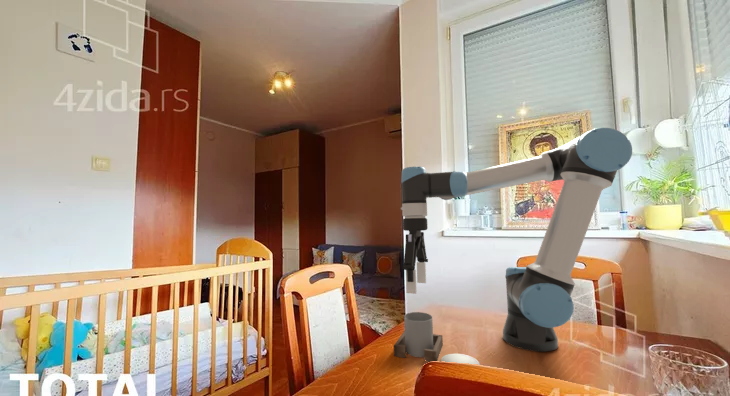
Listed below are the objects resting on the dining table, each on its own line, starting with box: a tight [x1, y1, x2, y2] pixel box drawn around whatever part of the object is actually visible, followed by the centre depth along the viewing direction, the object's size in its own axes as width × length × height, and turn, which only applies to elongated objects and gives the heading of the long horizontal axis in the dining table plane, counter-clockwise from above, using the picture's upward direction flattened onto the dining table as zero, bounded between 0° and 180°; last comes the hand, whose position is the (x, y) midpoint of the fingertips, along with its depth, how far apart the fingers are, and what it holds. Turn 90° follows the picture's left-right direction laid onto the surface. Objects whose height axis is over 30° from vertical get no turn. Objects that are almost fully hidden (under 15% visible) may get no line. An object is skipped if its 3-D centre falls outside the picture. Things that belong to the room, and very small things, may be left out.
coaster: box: [440, 353, 481, 365], centre depth 81 cm, size 10×10×1 cm
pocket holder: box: [393, 330, 444, 363], centre depth 89 cm, size 12×12×3 cm
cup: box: [403, 311, 434, 358], centre depth 89 cm, size 8×8×10 cm
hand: (417, 287), depth 90 cm, fingers open, 13 cm apart
